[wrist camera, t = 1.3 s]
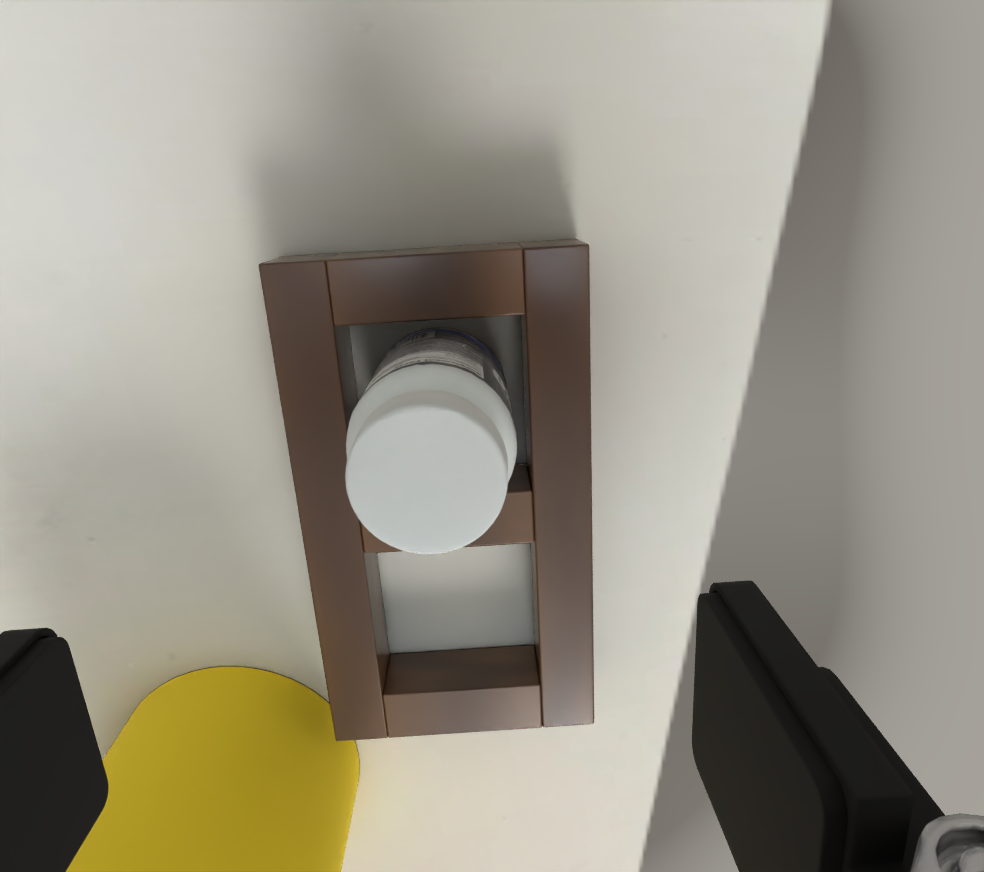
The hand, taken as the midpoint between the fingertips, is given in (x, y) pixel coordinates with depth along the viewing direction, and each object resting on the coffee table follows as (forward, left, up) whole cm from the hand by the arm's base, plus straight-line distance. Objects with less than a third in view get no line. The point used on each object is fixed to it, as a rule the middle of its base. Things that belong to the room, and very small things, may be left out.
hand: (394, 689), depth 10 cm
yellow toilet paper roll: (+16, -10, -16) cm, 24 cm away
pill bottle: (0, 0, -16) cm, 16 cm away
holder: (+4, 0, -16) cm, 16 cm away
